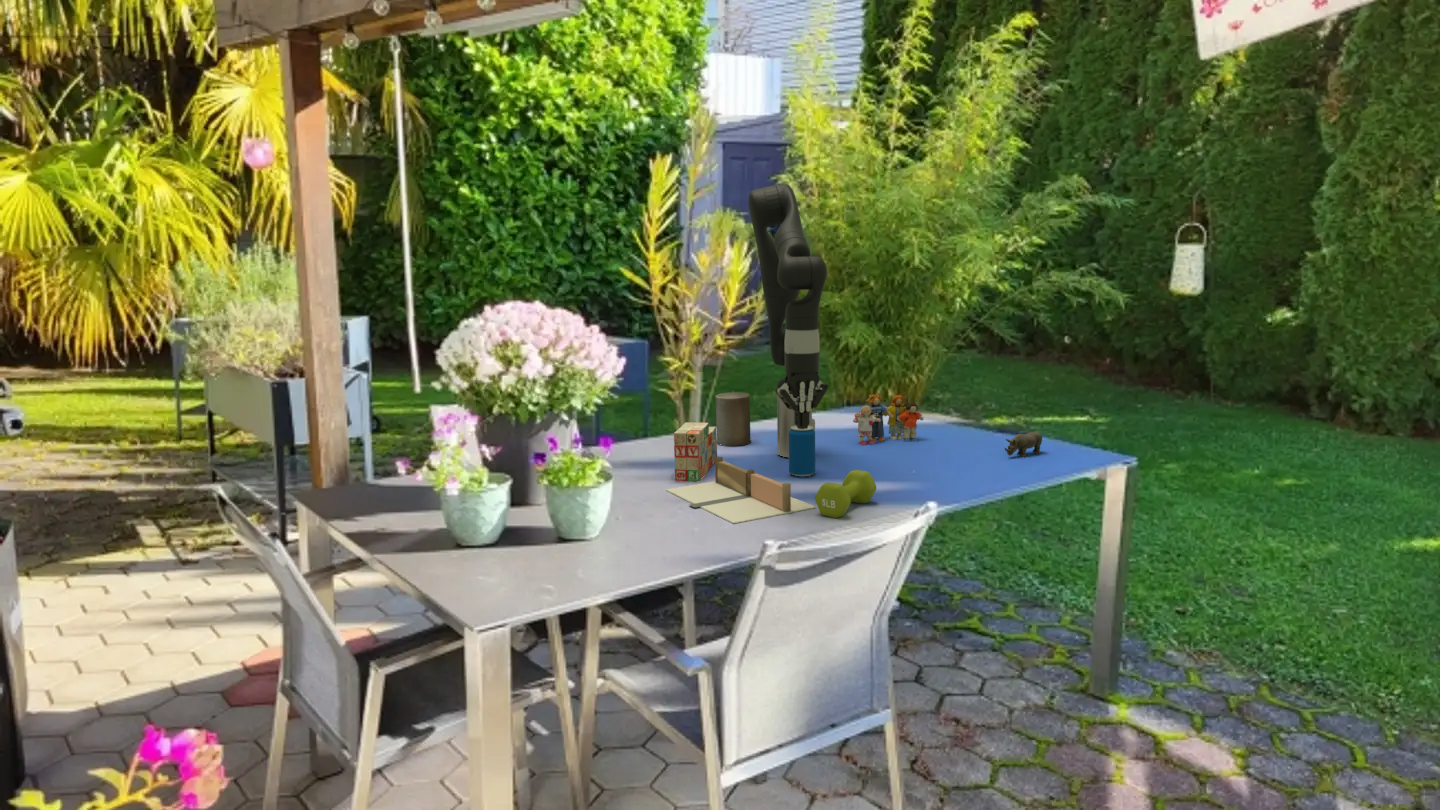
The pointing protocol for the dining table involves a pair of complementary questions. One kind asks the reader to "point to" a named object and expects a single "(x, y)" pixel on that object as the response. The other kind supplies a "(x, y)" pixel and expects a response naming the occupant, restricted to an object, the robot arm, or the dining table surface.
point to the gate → (771, 492)
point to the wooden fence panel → (733, 476)
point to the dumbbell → (845, 493)
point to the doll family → (898, 420)
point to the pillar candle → (733, 418)
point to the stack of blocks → (694, 450)
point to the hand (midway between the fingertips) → (802, 428)
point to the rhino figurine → (1024, 443)
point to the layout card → (732, 502)
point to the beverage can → (802, 451)
